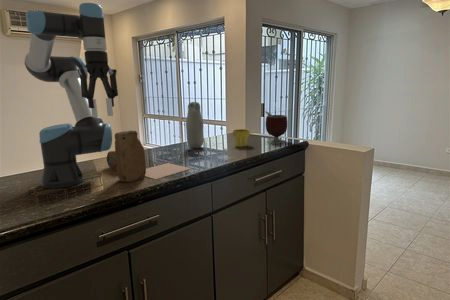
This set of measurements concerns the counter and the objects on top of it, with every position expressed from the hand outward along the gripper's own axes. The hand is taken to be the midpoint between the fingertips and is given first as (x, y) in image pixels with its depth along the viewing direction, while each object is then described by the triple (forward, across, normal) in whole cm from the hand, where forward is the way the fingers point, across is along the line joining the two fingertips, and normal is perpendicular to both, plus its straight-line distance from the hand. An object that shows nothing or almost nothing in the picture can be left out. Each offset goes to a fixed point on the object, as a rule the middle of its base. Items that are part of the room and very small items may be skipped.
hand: (102, 116), depth 112 cm
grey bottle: (+27, +70, +25) cm, 79 cm away
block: (+27, +10, 0) cm, 29 cm away
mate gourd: (+27, +113, -5) cm, 116 cm away
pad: (+27, +25, 0) cm, 37 cm away
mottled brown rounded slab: (+27, +15, +20) cm, 37 cm away
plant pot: (+27, +91, +6) cm, 95 cm away
